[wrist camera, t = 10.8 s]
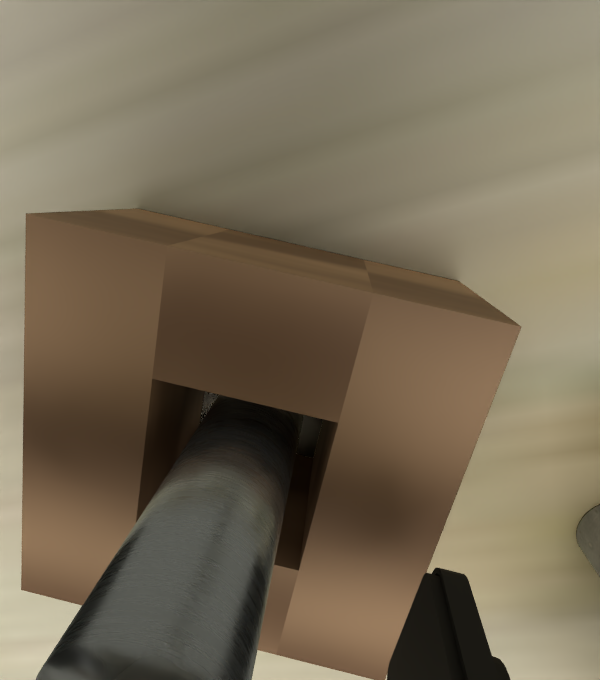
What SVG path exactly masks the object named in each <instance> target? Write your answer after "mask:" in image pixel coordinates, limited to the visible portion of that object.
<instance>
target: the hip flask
mask: <svg viewBox="0 0 600 680" xmlns="http://www.w3.org/2000/svg"><path fill="white" fill-rule="evenodd" d="M576 537H577V542H578V545H579V547H580V548H581V550H582V551H583V553H584V554H585V556H586V557H587V559H588V560H589V562H590V563H591V565H592V566H593V568H594V569H595V571H596V572H597V574H598V575H599V577H600V505H598V506H596V507H594V508H593V509H592V510H590V511H589V512H588V513H587V514H586V515H585V516H584V517H583V518H582V520H581V521H580V523H579V525H578V528H577V533H576Z"/></svg>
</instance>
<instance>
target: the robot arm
mask: <svg viewBox="0 0 600 680" xmlns="http://www.w3.org/2000/svg"><path fill="white" fill-rule="evenodd" d="M387 680H510V677H509V674H508V672H507V670H506V667H505V665H504V664H503V663H502V661H501V660H500V659H498V658H496V657H493V656H492V655H491V652H490V648H489V645H488V642H487V639H486V636H485V632H484V629H483V626H482V623H481V620H480V616H479V613H478V610H477V607H476V603H475V600H474V597H473V594H472V591H471V587H470V584H469V581H468V579H467V577H466V576H465V575H464V574H461V573H457V572H453V571H449V570H445V569H441V568H435V569H434V571H433V573H432V574H429V573H425V574H424V576H423V578H422V580H421V583H420V585H419V588H418V590H417V593H416V595H415V598H414V601H413V603H412V606H411V608H410V611H409V613H408V616H407V618H406V621H405V624H404V626H403V629H402V631H401V634H400V636H399V639H398V642H397V644H396V647H395V649H394V652H393V654H392V657H391V659H390V662H389V667H388V674H387Z"/></svg>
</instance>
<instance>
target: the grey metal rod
mask: <svg viewBox="0 0 600 680" xmlns="http://www.w3.org/2000/svg"><path fill="white" fill-rule="evenodd" d="M303 416H304V415H303V414H299V413H294V412H290V411H286V410H282V409H278V408H273V407H269V406H265V405H261V404H257V403H252V402H248V401H244V400H240V399H236V398H231V397H227V396H223V395H219V396H218V397H217V399H216V400H215V402H214V403H213V405H212V406H211V408H210V409H209V411H208V413H207V414H206V416H205V417H204V419H203V420H202V422H201V423H200V425H199V426H198V428H197V430H196V431H195V433H194V434H193V436H192V437H191V439H190V440H189V442H188V443H187V445H186V446H185V448H184V450H183V451H182V453H181V454H180V456H179V457H178V459H177V460H176V462H175V463H174V465H173V467H172V468H171V470H170V471H169V473H168V474H167V476H166V477H165V479H164V480H163V482H162V484H161V485H160V487H159V488H158V490H157V491H156V493H155V494H154V496H153V497H152V499H151V500H150V502H149V504H148V505H147V507H146V508H145V510H144V511H143V513H142V514H141V516H140V517H139V519H138V521H137V522H136V524H135V525H134V527H133V528H132V530H131V531H130V533H129V534H128V536H127V537H126V539H125V541H124V542H123V544H122V545H121V547H120V548H119V550H118V551H117V553H116V554H115V556H114V558H113V559H112V561H111V562H110V564H109V565H108V567H107V568H106V570H105V571H104V573H103V574H102V576H101V578H100V579H99V581H98V582H97V584H96V585H95V587H94V588H93V590H92V591H91V593H90V595H89V596H88V598H87V599H86V601H85V602H84V604H83V605H82V607H81V608H80V610H79V611H78V613H77V615H76V616H75V618H74V619H73V621H72V622H71V624H70V625H69V627H68V628H67V630H66V632H65V633H64V635H63V636H62V638H61V639H60V641H59V642H58V644H57V645H56V647H55V648H54V650H53V652H52V653H51V655H50V656H49V658H48V659H47V661H46V662H45V664H44V665H43V667H42V669H41V670H40V672H39V674H38V675H37V678H36V680H251V679H252V674H253V669H254V664H255V659H256V654H257V649H258V644H259V639H260V634H261V629H262V624H263V618H264V613H265V608H266V603H267V598H268V593H269V588H270V583H271V578H272V573H273V568H274V563H275V558H276V553H277V548H278V543H279V537H280V532H281V527H282V522H283V517H284V512H285V507H286V502H287V497H288V492H289V487H290V482H291V477H292V472H293V467H294V462H295V457H296V451H297V446H298V441H299V436H300V431H301V426H302V421H303Z"/></svg>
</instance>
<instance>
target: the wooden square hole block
mask: <svg viewBox="0 0 600 680" xmlns="http://www.w3.org/2000/svg"><path fill="white" fill-rule="evenodd" d="M520 329H521V326H520V325H518V324H517V323H516V322H514V321H513V320H511V319H510V318H509V317H507V316H506V315H505V314H503V313H502V312H500V311H499V310H498V309H496V308H495V307H494V306H492V305H491V304H489V303H488V302H487V301H485V300H484V299H483V298H481V297H480V296H479V295H477V294H476V293H474V292H473V291H472V290H470V289H469V288H468V287H466V286H465V285H463V284H462V283H461V282H459V281H455V280H451V279H447V278H442V277H438V276H433V275H429V274H425V273H420V272H416V271H411V270H407V269H402V268H398V267H394V266H389V265H385V264H380V263H376V262H372V261H367V260H363V259H358V258H354V257H349V256H345V255H341V254H336V253H332V252H327V251H323V250H318V249H314V248H310V247H305V246H301V245H296V244H292V243H288V242H283V241H279V240H274V239H270V238H265V237H261V236H257V235H252V234H248V233H243V232H239V231H235V230H230V229H226V228H221V227H217V226H212V225H208V224H204V223H199V222H195V221H190V220H186V219H182V218H177V217H173V216H168V215H164V214H159V213H155V212H151V211H146V210H142V209H116V210H94V211H73V212H51V213H29V214H26V255H25V335H24V415H23V495H22V575H21V590H24V591H28V592H32V593H36V594H40V595H44V596H48V597H52V598H56V599H60V600H63V601H67V602H71V603H75V604H79V605H83V604H84V602H85V601H86V599H87V598H88V596H89V595H90V593H91V591H92V590H93V588H94V587H95V585H96V584H97V582H98V581H99V579H100V578H101V576H102V574H103V573H104V571H105V570H106V568H107V567H108V565H109V564H110V562H111V561H112V559H113V558H114V556H115V554H116V553H117V551H118V550H119V548H120V547H121V545H122V544H123V542H124V541H125V539H126V537H127V536H128V534H129V533H130V531H131V530H132V528H133V527H134V525H135V524H136V522H137V521H138V519H139V517H140V516H141V514H142V513H143V511H144V510H145V508H146V507H147V505H148V504H149V502H150V500H151V499H152V497H153V496H154V494H155V493H156V491H157V490H158V488H159V487H160V485H161V484H162V482H163V480H164V479H165V477H166V476H167V474H168V473H169V471H170V470H171V468H172V467H173V465H174V463H175V462H176V460H177V459H178V457H179V456H180V454H181V453H182V451H183V450H184V448H185V446H186V445H187V443H188V442H189V440H190V439H191V437H192V436H193V434H194V433H195V431H196V430H197V428H198V426H199V424H200V418H201V411H202V405H203V398H204V392H205V391H206V392H210V393H215V394H219V395H223V396H227V397H231V398H236V399H240V400H244V401H248V402H252V403H257V404H261V405H265V406H269V407H273V408H278V409H282V410H286V411H290V412H294V413H299V414H303V415H307V416H311V417H316V418H320V419H323V422H322V426H321V429H320V433H319V437H318V441H317V445H316V449H315V453H314V457H313V458H311V457H307V456H303V455H298V454H296V457H295V462H294V467H293V472H292V477H291V482H290V487H289V492H288V497H287V502H286V507H285V512H284V517H283V522H282V527H281V532H280V537H279V543H278V548H277V553H276V558H275V563H274V568H273V573H272V578H271V583H270V588H269V593H268V598H267V603H266V608H265V613H264V618H263V624H262V629H261V634H260V639H259V644H258V649H257V650H260V651H264V652H268V653H272V654H276V655H280V656H284V657H288V658H292V659H295V660H299V661H303V662H307V663H311V664H315V665H319V666H323V667H327V668H331V669H335V670H339V671H343V672H347V673H351V674H354V675H358V676H362V677H366V678H370V679H374V680H385V678H386V675H387V673H388V667H389V662H390V659H391V657H392V654H393V652H394V649H395V647H396V644H397V642H398V639H399V636H400V634H401V631H402V629H403V626H404V624H405V621H406V618H407V616H408V613H409V611H410V608H411V606H412V603H413V601H414V598H415V595H416V593H417V590H418V588H419V585H420V583H421V580H422V578H423V576H424V574H425V573H426V572H427V569H428V567H429V564H430V562H431V559H432V556H433V554H434V551H435V549H436V546H437V544H438V541H439V538H440V536H441V533H442V531H443V528H444V525H445V523H446V520H447V518H448V515H449V513H450V510H451V507H452V505H453V502H454V500H455V497H456V494H457V492H458V489H459V487H460V484H461V482H462V479H463V476H464V474H465V471H466V469H467V466H468V463H469V461H470V458H471V456H472V453H473V451H474V448H475V445H476V443H477V440H478V438H479V435H480V433H481V430H482V427H483V425H484V422H485V420H486V417H487V414H488V412H489V409H490V407H491V404H492V402H493V399H494V396H495V394H496V391H497V389H498V386H499V383H500V381H501V378H502V376H503V373H504V371H505V368H506V365H507V363H508V360H509V358H510V355H511V352H512V350H513V347H514V345H515V342H516V340H517V337H518V334H519V332H520Z"/></svg>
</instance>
